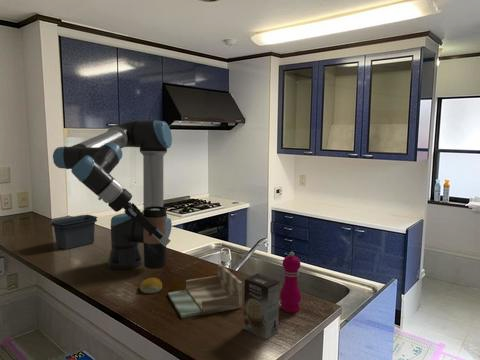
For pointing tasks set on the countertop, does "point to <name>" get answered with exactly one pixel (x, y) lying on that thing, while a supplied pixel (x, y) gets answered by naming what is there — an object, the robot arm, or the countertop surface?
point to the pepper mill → (290, 284)
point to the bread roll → (151, 285)
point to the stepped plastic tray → (209, 294)
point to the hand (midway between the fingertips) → (165, 240)
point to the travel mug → (152, 246)
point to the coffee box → (261, 305)
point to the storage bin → (74, 231)
